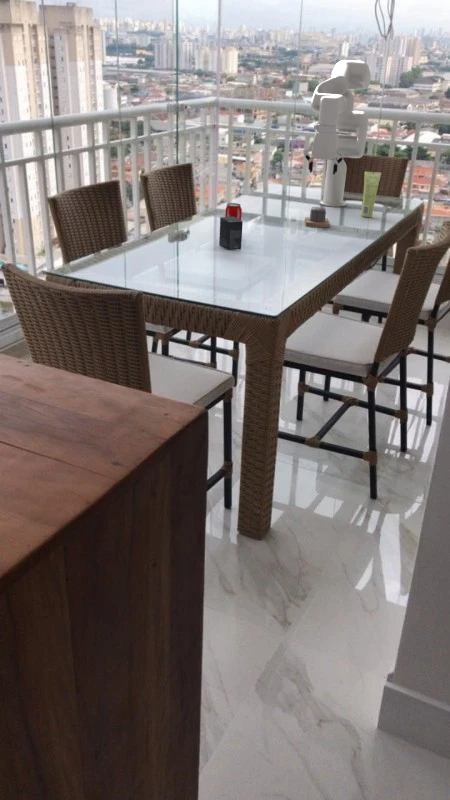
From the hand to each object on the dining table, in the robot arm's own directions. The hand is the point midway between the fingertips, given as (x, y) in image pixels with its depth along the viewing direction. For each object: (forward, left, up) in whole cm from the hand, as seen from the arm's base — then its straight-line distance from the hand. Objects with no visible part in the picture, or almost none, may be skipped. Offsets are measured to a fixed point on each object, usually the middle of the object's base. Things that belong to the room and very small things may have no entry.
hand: (322, 172), depth 292 cm
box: (+47, -35, -21) cm, 62 cm away
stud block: (+1, 0, -21) cm, 21 cm away
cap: (+1, 0, -20) cm, 20 cm away
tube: (-20, +24, -21) cm, 38 cm away
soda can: (+29, -35, -21) cm, 50 cm away
